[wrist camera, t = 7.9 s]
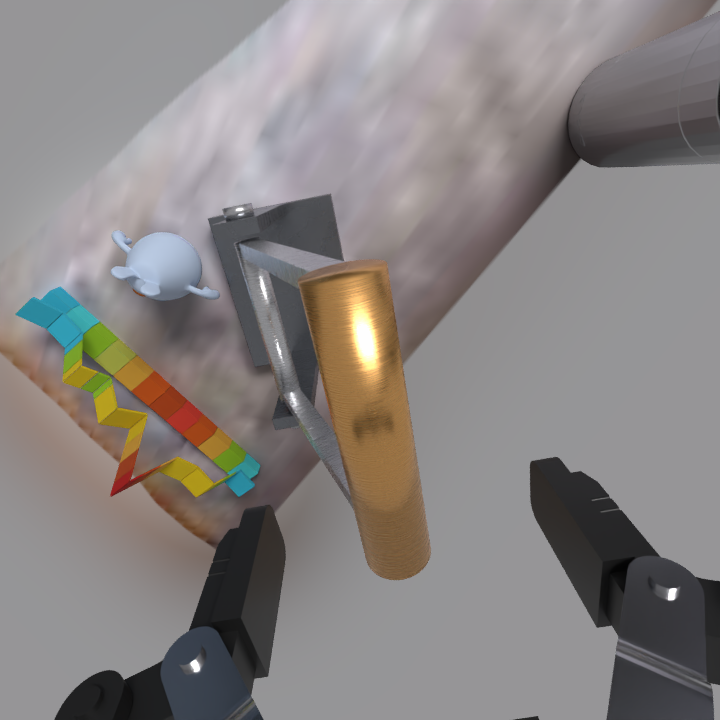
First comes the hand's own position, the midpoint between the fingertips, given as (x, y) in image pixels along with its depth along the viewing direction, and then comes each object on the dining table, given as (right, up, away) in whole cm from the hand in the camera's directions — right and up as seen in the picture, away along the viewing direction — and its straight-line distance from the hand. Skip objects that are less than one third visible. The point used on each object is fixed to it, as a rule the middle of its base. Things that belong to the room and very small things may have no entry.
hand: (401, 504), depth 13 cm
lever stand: (-9, +13, +32) cm, 35 cm away
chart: (-25, +1, +37) cm, 45 cm away
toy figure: (-20, +15, +30) cm, 39 cm away
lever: (-8, +7, +19) cm, 22 cm away
